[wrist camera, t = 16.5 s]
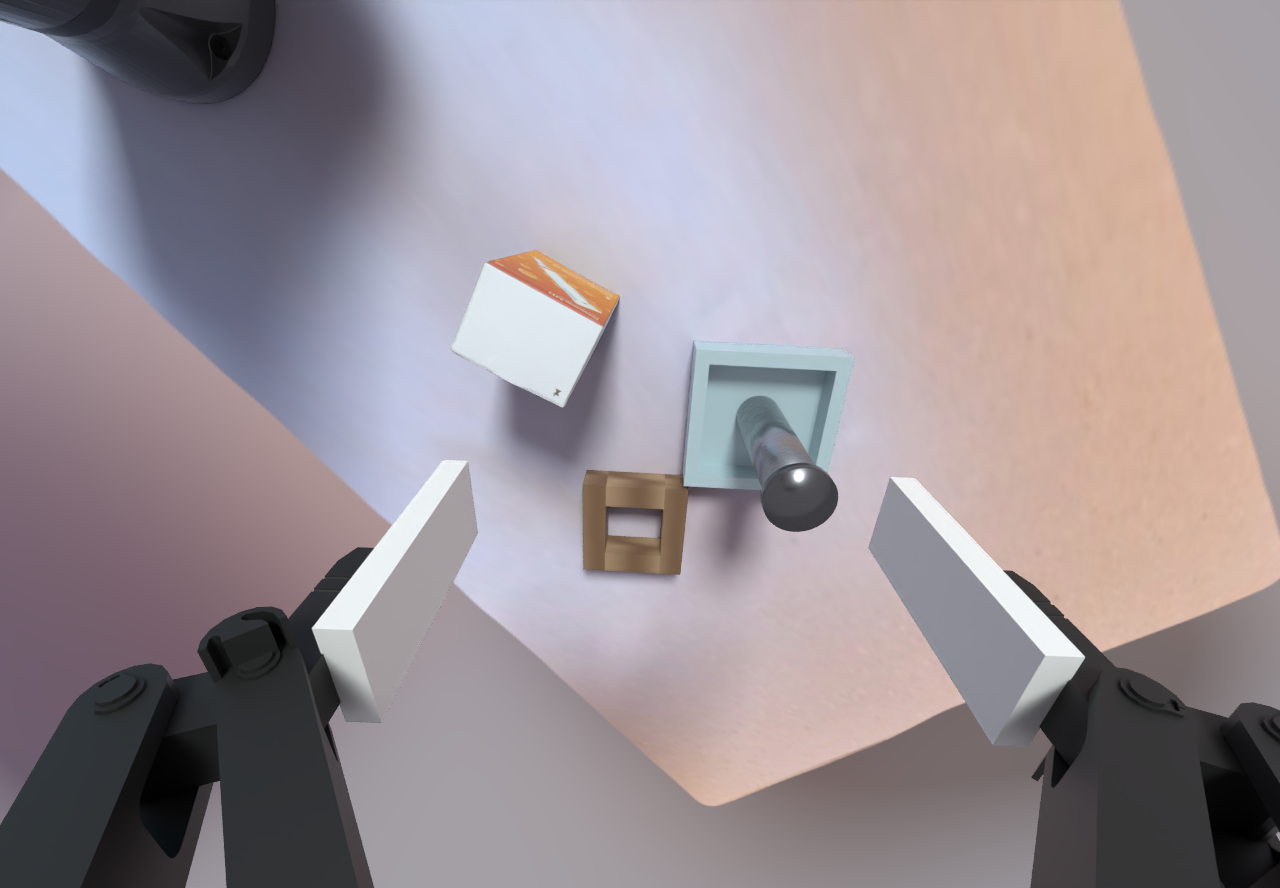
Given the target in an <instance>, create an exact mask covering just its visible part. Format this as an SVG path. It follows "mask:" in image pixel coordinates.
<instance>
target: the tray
mask: <svg viewBox="0 0 1280 888" xmlns="http://www.w3.org/2000/svg"><path fill="white" fill-rule="evenodd" d="M853 362H854V357H853V356H852V355H850V354H849V353H848V352H846V351H845V350H843V349H840V348H821V347H801V346H782V345H762V344H743V343H723V342H704V341H694V347H693V358H692V369H691V380H690V391H689V402H688V413H687V424H686V435H685V446H684V457H683V468H682V474H683V484H684V486H691V487H709V488H728V489H746V490H762V487H761V485H760V482H759V479H758V477H757V474H756V471H755V469H754V466H753V464H752V461H751V458H750V456H749V453H748V450H747V448H746V445H745V443H744V440H743V437H742V435H741V432H740V429H739V427H738V424H737V421H736V414H737V410H738V408H739V407H740V405H741V404H742V403H743V402H744V401H745V400H747V399H748V398H750V397H753V396H766V397H769V398H771V399H773V400H774V401H775V402H776V403H777V405H778V406H779V408H780V410H781V411H782V413H783V414H784V416H785V418H786V419H787V421H788V422H789V424H790V426H791V427H792V429H793V430H794V432H795V434H796V435H797V437H798V438H799V440H800V441H801V443H802V445H803V446H804V448H805V449H806V451H807V453H808V454H809V456H810V457H811V459H812V461H813V462H814V464H815V465H816V466H818V467H820V468H822V469H823V470H825V471H826V472H827V473H828V469H829V464H830V460H831V456H832V452H833V447H834V443H835V439H836V435H837V430H838V426H839V422H840V418H841V413H842V409H843V405H844V401H845V396H846V392H847V388H848V384H849V379H850V375H851V371H852V367H853Z"/></svg>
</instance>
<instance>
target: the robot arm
mask: <svg viewBox="0 0 1280 888" xmlns="http://www.w3.org/2000/svg"><path fill="white" fill-rule="evenodd" d="M274 18H275V7H274V0H0V21H2V22H5V23H9V24H13V25H16V26H20V27H23V28H27V29H30V30H33V31H37V32H40V33H43V34H45V35H46V36H48V37H50V38H51V39H53V40H55V41H56V42H58V43H60V44H61V45H63V46H65V47H66V48H68V49H70V50H71V51H73V52H75V53H76V54H78V55H80V56H81V57H83V58H85V59H86V60H88V61H90V62H91V63H93V64H94V65H96V66H98V67H99V68H101V69H103V70H104V71H106V72H108V73H109V74H111V75H113V76H114V77H116V78H118V79H120V80H121V81H123V82H125V83H127V84H129V85H131V86H134V87H136V88H138V89H141V90H143V91H146V92H149V93H152V94H155V95H159V96H163V97H167V98H171V99H175V100H179V101H184V102H189V103H198V104H206V103H215V102H220V101H223V100H227V99H229V98H231V97H234V96H235V95H237V94H239V93H240V92H242V91H243V90H244V89H246V88H247V87H248V86H249V85H250V84H251V83H252V82H253V81H254V79H255V78H256V77H257V75H258V74H259V72H260V71H261V69H262V67H263V65H264V63H265V61H266V59H267V56H268V53H269V50H270V47H271V43H272V38H273V31H274ZM477 534H478V530H477V522H476V515H475V508H474V501H473V494H472V487H471V479H470V472H469V465H468V461H455V460H443V461H442V462H441V463H440V465H439V466H438V467H437V469H436V470H435V471H434V472H433V474H432V475H431V476H430V478H429V479H428V480H427V481H426V483H425V484H424V485H423V487H422V488H421V489H420V490H419V492H418V493H417V494H416V496H415V497H414V498H413V499H412V501H411V502H410V503H409V504H408V506H407V507H406V508H405V510H404V511H403V512H402V513H401V515H400V516H399V517H398V519H397V520H396V521H395V522H394V524H393V525H392V526H391V528H390V529H389V530H388V531H387V533H386V534H385V535H384V537H383V538H382V539H381V540H380V542H379V543H378V544H377V546H376V547H375V548H360V547H358V548H356V549H355V550H353V551H352V552H350V553H349V554H347V555H346V556H344V557H343V558H341V559H340V560H338V561H337V563H336V564H335V565H334V566H333V567H332V568H331V569H330V571H329V572H328V573H327V574H326V575H325V579H322V580H321V581H320V582H319V583H318V585H317V586H316V587H315V588H314V592H311V593H310V594H309V595H308V596H307V598H306V599H305V600H304V601H303V602H302V603H301V605H300V606H299V607H298V608H297V609H296V610H295V612H294V613H293V614H292V615H291V616H290V617H289V619H288V618H287V616H286V615H285V613H284V612H283V611H282V610H281V609H278V608H274V607H256V608H253V609H249V610H245V611H242V612H240V613H237V614H235V615H233V616H231V617H229V618H227V619H225V620H223V621H222V622H220V623H219V624H218V625H216V626H215V627H213V628H212V629H211V630H210V631H209V632H208V633H207V634H206V635H205V637H204V638H203V639H202V640H201V642H200V645H199V648H198V651H197V652H198V653H199V656H200V657H201V659H202V661H203V663H204V665H205V667H206V669H207V671H208V672H206V673H201V674H197V675H193V676H188V677H183V678H179V679H174V680H172V678H171V676H170V675H169V673H168V671H167V670H166V669H165V668H164V667H163V666H161V665H155V664H144V665H138V666H133V667H130V668H127V669H124V670H121V671H119V672H116V673H114V674H112V675H110V676H108V677H106V678H105V679H103V680H101V681H99V682H97V683H96V684H94V685H93V686H92V687H90V688H89V689H88V690H87V691H85V692H84V693H83V694H81V695H80V696H79V697H78V698H77V699H76V701H75V702H74V703H73V704H72V705H71V707H70V708H69V709H68V711H67V712H66V714H65V716H64V717H63V719H62V721H61V723H60V724H59V726H58V728H57V729H56V731H55V733H54V734H53V736H52V738H51V740H50V741H49V743H48V745H47V746H46V748H45V750H44V752H43V753H42V755H41V757H40V759H39V760H38V762H37V763H36V765H35V767H34V769H33V770H32V772H31V774H30V775H29V777H28V779H27V781H26V782H25V784H24V786H23V787H22V789H21V791H20V792H19V794H18V796H17V798H16V799H15V801H14V803H13V804H12V806H11V808H10V810H9V811H8V813H7V815H6V816H5V818H4V820H3V821H2V823H1V825H0V888H185V886H186V882H187V878H188V875H189V871H190V867H191V864H192V860H193V856H194V852H195V849H196V845H197V841H198V838H199V834H200V830H201V826H202V823H203V819H204V816H205V812H206V808H207V804H208V801H209V797H210V793H211V790H212V786H213V782H217V781H220V787H221V803H222V820H223V836H224V851H225V867H226V885H227V888H374V886H373V882H372V878H371V875H370V871H369V867H368V864H367V860H366V856H365V852H364V849H363V845H362V841H361V837H360V834H359V830H358V826H357V823H356V819H355V815H354V811H353V808H352V804H351V800H350V797H349V793H348V789H347V785H346V782H345V778H344V774H343V771H342V767H341V763H340V759H339V756H338V752H337V749H336V745H335V741H334V737H333V734H332V730H331V727H330V725H329V721H330V719H331V717H332V716H333V714H334V712H335V711H336V709H337V707H338V706H339V704H340V707H341V709H342V712H343V715H344V718H345V720H346V722H372V723H382V721H383V720H384V718H385V716H386V714H387V712H388V710H389V707H390V706H391V704H392V702H393V700H394V698H395V696H396V694H397V692H398V690H399V688H400V686H401V684H402V682H403V680H404V678H405V676H406V674H407V672H408V670H409V668H410V666H411V664H412V662H413V660H414V658H415V656H416V654H417V652H418V650H419V648H420V646H421V645H422V643H423V641H424V639H425V637H426V635H427V633H428V630H429V629H430V627H431V625H432V623H433V621H434V619H435V617H436V615H437V613H438V611H439V609H440V607H441V605H442V603H443V601H444V599H445V597H446V595H447V593H448V591H449V589H450V587H451V585H452V583H453V581H454V579H455V577H456V575H457V573H458V572H459V570H460V568H461V566H462V564H463V562H464V560H465V558H466V556H467V554H468V552H469V550H470V548H471V546H472V544H473V542H474V540H475V538H476V536H477ZM868 548H869V550H870V551H871V553H872V554H873V556H874V558H875V559H876V561H877V562H878V564H879V565H880V567H881V569H882V570H883V572H884V573H885V575H886V577H887V578H888V580H889V581H890V583H891V584H892V586H893V588H894V589H895V591H896V592H897V594H898V596H899V597H900V599H901V600H902V602H903V604H904V605H905V607H906V608H907V610H908V611H909V613H910V615H911V616H912V618H913V619H914V621H915V623H916V624H917V626H918V627H919V629H920V630H921V632H922V634H923V635H924V637H925V638H926V640H927V642H928V643H929V645H930V646H931V648H932V649H933V651H934V653H935V654H936V656H937V657H938V659H939V661H940V662H941V664H942V665H943V667H944V668H945V670H946V672H947V673H948V675H949V676H950V678H951V680H952V681H953V683H954V684H955V686H956V688H957V689H958V691H959V692H960V694H961V695H962V697H963V699H964V700H965V702H966V703H967V705H968V706H969V708H970V710H971V711H972V713H973V714H974V716H975V717H976V719H977V721H978V722H979V724H980V726H981V727H982V729H983V730H984V732H985V733H986V735H987V737H988V738H989V740H990V741H991V743H992V745H1003V746H1004V745H1005V746H1029V745H1030V743H1031V741H1032V740H1033V738H1034V737H1035V735H1036V734H1037V732H1038V731H1039V729H1040V728H1041V729H1042V731H1043V732H1044V733H1045V735H1046V736H1047V738H1048V739H1049V740H1050V742H1051V743H1052V744H1053V745H1052V746H1051V748H1050V749H1049V751H1048V752H1047V754H1046V755H1045V757H1044V758H1043V760H1042V761H1041V763H1040V764H1039V766H1038V767H1037V769H1036V770H1035V772H1034V774H1033V775H1032V778H1033V779H1035V780H1037V781H1038V780H1039V779H1040V777H1041V776H1042V775H1043V774H1044V777H1043V786H1042V794H1041V802H1040V811H1039V819H1038V828H1037V836H1036V845H1035V853H1034V863H1033V870H1032V879H1031V888H1280V841H1279V839H1278V837H1277V836H1276V833H1277V832H1280V710H1277V709H1275V708H1272V707H1270V706H1266V705H1261V704H1257V703H1242V704H1240V705H1239V706H1238V707H1237V709H1236V710H1235V711H1234V712H1233V713H1232V714H1231V715H1230V716H1229V718H1226V717H1223V716H1220V715H1216V714H1212V713H1209V712H1205V711H1202V710H1198V709H1194V708H1190V707H1187V706H1185V705H1184V704H1183V703H1182V701H1181V700H1180V699H1179V698H1178V697H1177V696H1176V695H1175V694H1173V693H1172V692H1171V691H1169V690H1168V689H1167V688H1165V687H1164V686H1163V685H1161V684H1160V683H1158V682H1156V681H1154V680H1152V679H1150V678H1148V677H1147V676H1145V675H1143V674H1139V673H1137V672H1134V671H1131V670H1128V669H1124V668H1116V667H1115V666H1114V665H1113V664H1112V663H1111V662H1110V661H1109V660H1108V659H1107V658H1106V657H1105V656H1104V655H1103V654H1102V653H1101V652H1100V651H1099V650H1098V649H1097V648H1096V647H1095V646H1094V645H1093V644H1092V643H1091V642H1090V641H1089V640H1088V639H1087V638H1086V637H1085V636H1084V635H1083V634H1082V633H1081V632H1080V631H1079V630H1078V629H1077V628H1076V627H1075V626H1074V625H1073V624H1072V623H1071V622H1070V621H1069V620H1068V619H1065V618H1064V615H1063V614H1062V613H1061V612H1060V611H1059V610H1058V609H1057V608H1056V607H1055V606H1054V605H1051V604H1050V601H1049V600H1048V599H1047V598H1046V597H1045V596H1044V595H1043V594H1042V593H1041V592H1040V591H1039V590H1038V589H1037V588H1036V587H1035V586H1034V585H1033V584H1031V583H1030V582H1028V581H1027V580H1025V579H1024V578H1022V577H1021V576H1019V575H1018V574H1016V573H1015V572H1013V571H1004V570H1002V569H1001V568H1000V567H999V566H998V565H997V564H996V563H995V562H994V561H993V560H992V559H991V558H990V556H989V555H988V554H987V553H986V552H985V551H984V550H983V549H982V548H981V547H980V546H979V545H978V544H977V543H976V542H975V541H974V540H973V539H972V538H971V537H970V536H969V534H968V533H967V532H966V531H965V530H964V529H963V528H962V527H961V526H960V525H959V524H958V523H957V522H956V521H955V520H954V519H953V518H952V517H951V516H950V515H949V514H948V512H947V511H946V510H945V509H944V508H943V507H942V506H941V505H940V504H939V503H938V502H937V501H936V500H935V499H934V498H933V497H932V496H931V495H930V494H929V493H928V491H927V490H926V489H925V488H924V487H923V486H922V485H921V484H920V483H919V482H918V481H917V480H916V479H915V478H899V477H890V479H889V483H888V486H887V489H886V492H885V496H884V499H883V502H882V505H881V509H880V512H879V515H878V518H877V521H876V525H875V528H874V531H873V534H872V538H871V541H870V544H869V547H868Z"/></svg>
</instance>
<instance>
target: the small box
mask: <svg viewBox="0 0 1280 888" xmlns="http://www.w3.org/2000/svg"><path fill="white" fill-rule="evenodd" d="M619 298H620V296H618V295H616V294H614V293H612V292H610V291H608V290H607V289H605V288H603V287H601V286H599V285H597V284H595V283H594V282H592V281H590V280H588V279H586V278H585V277H583V276H581V275H579V274H577V273H575V272H574V271H572V270H570V269H568V268H567V267H565V266H563V265H561V264H560V263H558V262H556V261H555V260H553V259H551V258H549V257H548V256H546V255H544V254H542V253H541V252H539V251H537V250H533V251H529V252H525V253H521V254H517V255H513V256H509V257H505V258H500V259H497V260H493V261H489V262H485V264H484V266H483V269H482V271H481V274H480V276H479V279H478V281H477V284H476V286H475V289H474V291H473V294H472V296H471V299H470V301H469V304H468V307H467V309H466V312H465V314H464V317H463V319H462V322H461V324H460V327H459V329H458V332H457V334H456V337H455V339H454V342H453V344H452V346H451V350H452V352H454V353H455V354H457V355H459V356H461V357H463V358H465V359H467V360H469V361H470V362H472V363H474V364H476V365H478V366H480V367H482V368H484V369H486V370H488V371H490V372H491V373H493V374H495V375H497V376H499V377H500V378H502V379H504V380H506V381H508V382H509V383H511V384H514V385H516V386H518V387H520V388H522V389H525V390H527V391H529V392H531V393H533V394H535V395H538V396H540V397H541V398H543V399H546V400H548V401H550V402H552V403H554V404H556V405H558V406H560V407H563V408H564V407H565V405H566V403H567V401H568V399H569V397H570V395H571V394H572V392H573V390H574V388H575V386H576V384H577V382H578V380H579V379H580V377H581V375H582V373H583V371H584V369H585V367H586V365H587V363H588V361H589V359H590V358H591V356H592V354H593V352H594V350H595V348H596V346H597V344H598V342H599V340H600V338H601V336H602V334H603V332H604V330H605V328H606V326H607V324H608V322H609V320H610V317H611V315H612V313H613V311H614V309H615V307H616V305H617V303H618V301H619Z"/></svg>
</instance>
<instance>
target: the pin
mask: <svg viewBox="0 0 1280 888" xmlns="http://www.w3.org/2000/svg"><path fill="white" fill-rule="evenodd" d="M736 421H737V424H738V427H739V429H740V432H741V435H742V437H743V440H744V443H745V445H746V448H747V450H748V453H749V456H750V458H751V461H752V464H753V466H754V469H755V471H756V474H757V477H758V479H759V482H760V485H761V487H762V491H761V504H762V507H763V510H764V512H765V515H766V517H767V518H768V520H769V521H770V522H771V523H772V524H773V525H775V526H776V527H778V528H780V529H783V530H786V531H793V532H800V531H806V530H810V529H813V528H815V527H817V526H819V525H821V524H822V523H824V522H825V521H826V520H827V519H828V518H829V517H830V516H831V515H832V513H833V512H834V510H835V508H836V506H837V502H838V491H837V488H836V485H835V483H834V482H833V480H832V479H831V477H830V476H829V474H828V473H827V472H826V471H825V470H823V469H822V468H820V467H818V466H816V465H815V464H814V462H813V461H812V459H811V457H810V456H809V454H808V453H807V451H806V449H805V448H804V446H803V445H802V443H801V441H800V440H799V438H798V437H797V435H796V434H795V432H794V430H793V429H792V427H791V426H790V424H789V422H788V421H787V419H786V418H785V416H784V414H783V413H782V411H781V410H780V408H779V406H778V405H777V403H776V402H775V401H774V400H773V399H771V398H769V397H766V396H753V397H750V398H748V399H747V400H745V401H744V402H743V403H742V404H741V405H740V407H739V408H738V410H737V414H736Z"/></svg>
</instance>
